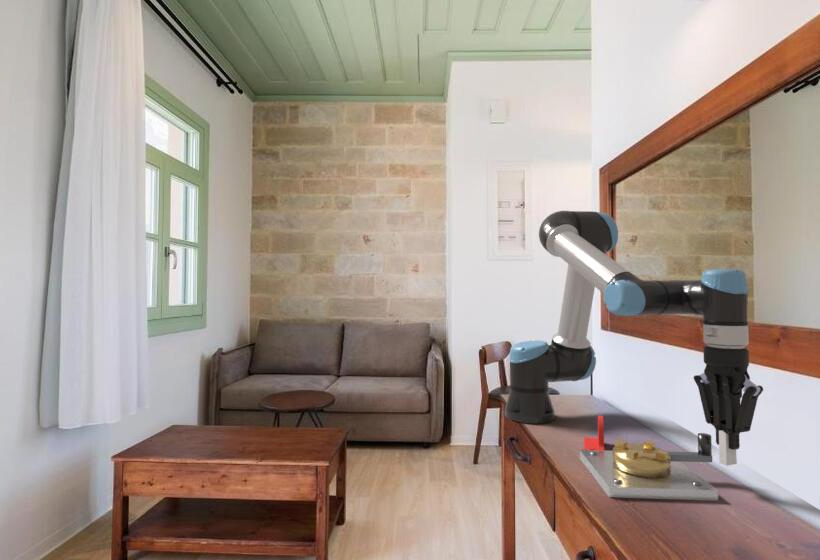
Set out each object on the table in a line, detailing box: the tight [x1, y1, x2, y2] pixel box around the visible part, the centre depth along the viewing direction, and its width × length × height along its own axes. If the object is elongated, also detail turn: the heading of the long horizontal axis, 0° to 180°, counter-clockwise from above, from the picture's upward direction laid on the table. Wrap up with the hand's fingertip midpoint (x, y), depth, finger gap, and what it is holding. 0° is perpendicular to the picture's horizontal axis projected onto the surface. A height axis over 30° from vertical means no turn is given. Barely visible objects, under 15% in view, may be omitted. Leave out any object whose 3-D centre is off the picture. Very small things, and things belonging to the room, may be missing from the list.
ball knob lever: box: [612, 432, 713, 477], centre depth 97 cm, size 20×11×7 cm, turn 85°
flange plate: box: [579, 449, 719, 502], centre depth 97 cm, size 20×20×2 cm
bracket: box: [583, 415, 605, 450], centre depth 114 cm, size 12×4×8 cm, turn 159°
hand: (727, 463), depth 91 cm, fingers closed
